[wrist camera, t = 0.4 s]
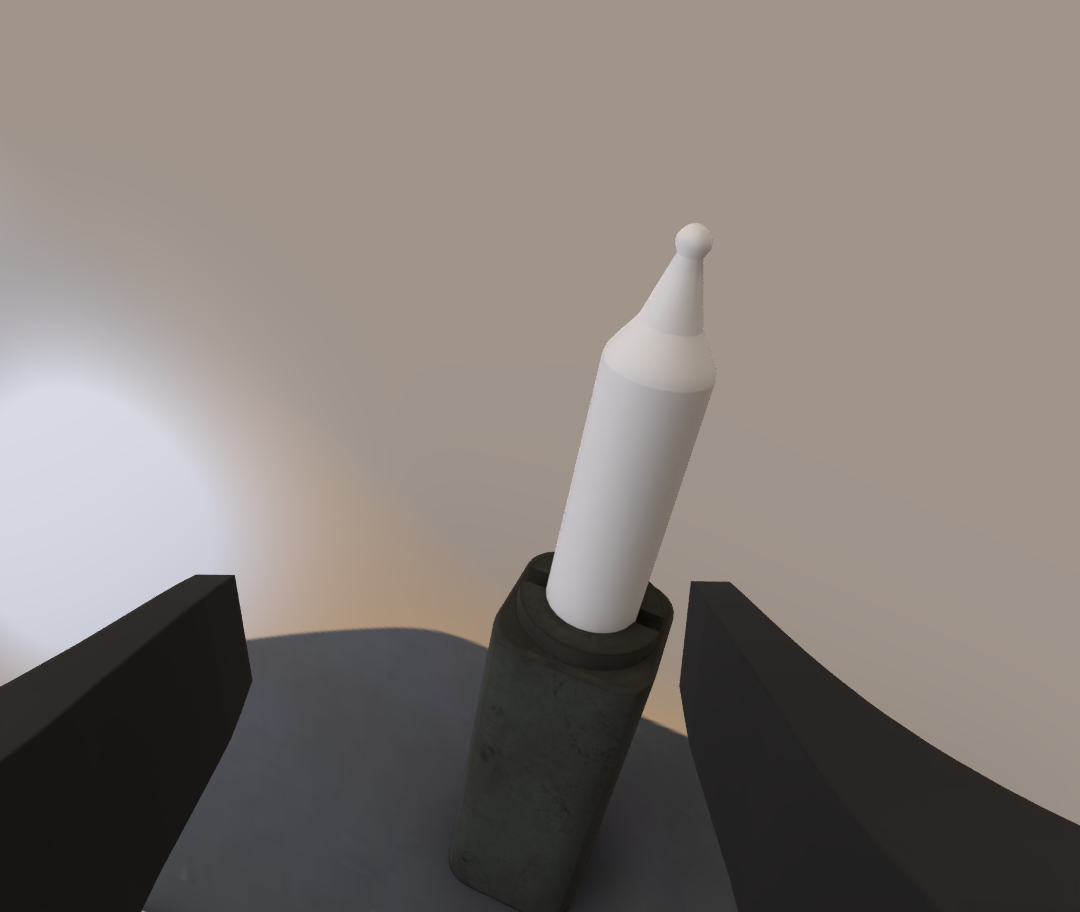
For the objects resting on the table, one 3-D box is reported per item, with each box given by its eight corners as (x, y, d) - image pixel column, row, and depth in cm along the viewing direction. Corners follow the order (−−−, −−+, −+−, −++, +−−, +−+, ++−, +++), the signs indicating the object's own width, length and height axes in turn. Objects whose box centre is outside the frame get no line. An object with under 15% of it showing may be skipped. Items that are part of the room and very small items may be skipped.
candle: (490, 765, 32) (620, 181, 19) (599, 814, 31) (814, 230, 18) (437, 871, 28) (558, 215, 15) (561, 932, 27) (806, 282, 14)
